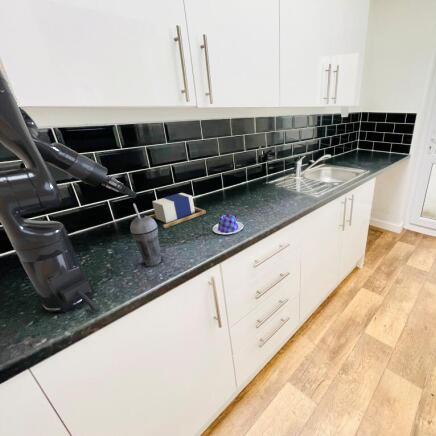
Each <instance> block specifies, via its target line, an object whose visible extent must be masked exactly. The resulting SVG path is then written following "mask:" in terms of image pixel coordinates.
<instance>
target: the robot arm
mask: <svg viewBox="0 0 436 436" xmlns="http://www.w3.org/2000/svg"><path fill="white" fill-rule="evenodd" d="M3 73H4V72H3V71H2V69H1V68H0V143H1V145H3V147H4V148H6V149H7V150H9V151H10V152H11V153H13V154H15V155H16V156H17V157H18V159H20V160H21V162H22V163H23V165H25V167H24V168H17V169H16V168H15V169H9V170H2V171H0V224H1V225H2V227H3V229H4V231H5V233H6V235H7V238H8V239H9V242H10V243H11V246H12V247H13V249H14V251H15V253H16V255H17V257H18V259H19V261H20V263H21V265H22V268H23V269H24V271H25V273H26V274H27V277H28V278H29V280H30V282H31V284H32V286H33V288H34V291H35V293H36V295H37V296H38V297H39V300H40V301H41V303H42V307H43V308H44V310H45V311H46V312H49V313H60V312H62V313H66V312H68V311H70V310H72V309H74V308H75V307H77V306H79V305H80V304H83V303H84V302H85V303H86V304H87V306H88V307H89V308H90V309H91V311H92V312H94V311H96V310H98V307H97V306H96V304H95V303H94V302H93V301H92V299H91V298H92V297H93V296H92V292H93V291H92V288H91V285H90V283H89V281H88V279H87V277H86V274H85V272H84V270H83V268H82V265H81V262H80V261H79V258H78V255H77V253H76V250H75V248H74V246H73V243H72V241H71V238H70V236H69V233H68V230H67V229H66V228H67V227H66V226H65V225H64V223H62V222H60V221H58V220H57V221H56V220H36V219H30V218H25V217H22V216H23V215H27V214H32V213H37V212H41V211H46V210H49V209H50V210H51V209H54V208H57V207H59V206H60V205H61V204H62V201H63V200H62V199H63V197H62V193H61V190H60V188H59V185H58V183H57V182H56V180H55V178H54V175H53V174H52V172H51V171H50V169H49V167H48V165H50V166H52V167H54V168H56V169H58V170H60V171H62V172H64V173H65V174H67V175H69V176H70V177H72V178H75V179H76V180H78V181H80V182H82V183H85V184H86V185H89V186H90V187H97V186H99V185H100V184H101V186H102V187H105V188H107V189H110V190H112V191H115V192H118V193H121V194H123V195H125V196H128V197H130V198H132V199H135V198H136V197H137V195H138V193H137V192H135V191H134V190H131V189H130V188H129V187H128V186H126V185H124V183H123V182H121V181H118V180H117V178H115V177H113V176H110V175H107V174H108V168H107V167H106V166H103V165H101V164H100V163H99V162H96V161H94V160H93V159H91V158H89V157H87V156H86V155H83V154H81V153H79V152H77V151H76V150H73V149H71V147H68V146H67V145H64V144H62V143H60V142H53V143H48V142H46V141H43V140H41V139H40V138H41V131H40V129H39V127H38V125H37V124H36V122H35V120H34V119H33V118H32V117H31V116H30V115H29V114H28V113H27V111H26V110H25V109H24V108H23V107H22V106H21V107H18V105H17V102H16V100H17V99H16V100H15V98H16V97H15V98H14V96H15V95H14V93H13V91H12V89H11V87H10V85H9V82H8V81H7V79H6V77H5V75H4V74H3ZM13 95H14V96H13Z"/></svg>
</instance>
